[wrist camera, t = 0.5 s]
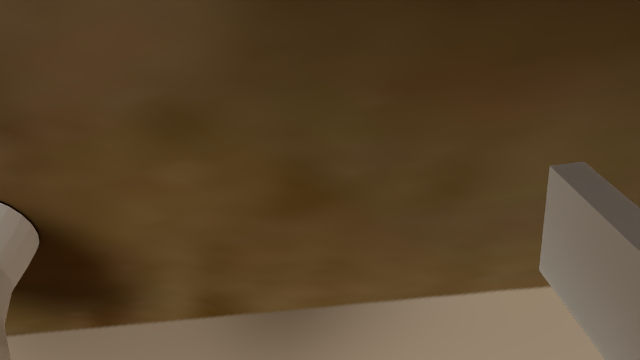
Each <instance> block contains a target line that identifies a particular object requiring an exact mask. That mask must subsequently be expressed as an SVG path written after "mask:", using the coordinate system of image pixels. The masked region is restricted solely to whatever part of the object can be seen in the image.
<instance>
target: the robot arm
mask: <svg viewBox="0 0 640 360" xmlns="http://www.w3.org/2000/svg"><path fill="white" fill-rule="evenodd" d="M539 271H540V272H541V273H542V275H543V276H544V277H545V279H546V280H547V281H548V283H549V284H550V286H551V287H552V288H553V290H554V291H555V292H556V294H557V295H558V296H559V298H560V299H561V300H562V302H563V303H564V305H565V306H566V307H567V308H568V310H569V311H570V313H571V314H572V315H573V317H574V318H575V319H576V321H577V322H578V323H579V325H580V326H581V327H582V329H583V330H584V331H585V333H586V334H587V336H588V337H589V338H590V340H591V341H592V342H593V344H594V345H595V346H596V348H597V349H598V350H599V352H600V353H601V355H602V356H603V357H604V359H605V360H640V208H639V207H637V206H636V205H635V204H634V203H633V202H631V201H630V200H629V199H628V198H627V197H625V196H624V195H623V194H622V193H621V192H620V191H618V190H617V189H616V188H615V187H614V186H612V185H611V184H610V183H609V182H608V181H606V180H605V179H604V178H603V177H602V176H600V175H599V174H598V173H597V172H596V171H595V170H593V169H592V168H591V167H590V166H589V165H587V164H586V163H585V162H578V163H569V164H561V165H553V166H550V169H549V178H548V188H547V198H546V208H545V218H544V228H543V238H542V248H541V257H540V267H539Z"/></svg>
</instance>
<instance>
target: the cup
mask: <svg viewBox="0 0 640 360" xmlns="http://www.w3.org/2000/svg"><path fill="white" fill-rule="evenodd" d="M38 245H39V238H38V233H37V232H36V230H35V228H34V227H33V225H32V224H31V223H30V222H29V221H28V220H27V219H26V218H25V217H24V216H23V215H21V214H20V213H18V212H17V211H15V210H13V209H12V208H10V207H9V206H7V205H4V204H2V203H0V360H10V354H9V349H8V343H7V338H6V332H5V326H4V325H5V320H6V316H7V312H8V307H9V303H10V298H11V294H12V291H13V290H14V288H15V286H16V285H17V283H18V282H19V280H20V278H21V277H22V275H23V274H24V272H25V270H26V269H27V267H28V266H29V264H30V262H31V260H32V258H33V256H34V255H35V253H36V251H37V248H38Z"/></svg>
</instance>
